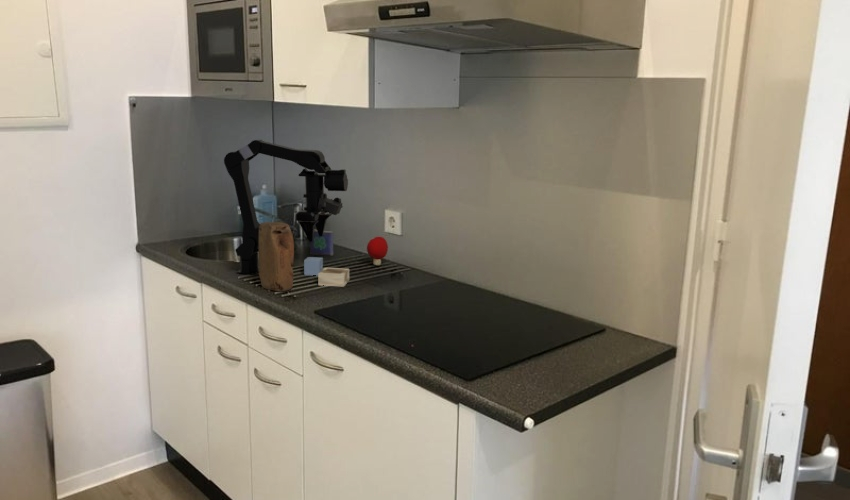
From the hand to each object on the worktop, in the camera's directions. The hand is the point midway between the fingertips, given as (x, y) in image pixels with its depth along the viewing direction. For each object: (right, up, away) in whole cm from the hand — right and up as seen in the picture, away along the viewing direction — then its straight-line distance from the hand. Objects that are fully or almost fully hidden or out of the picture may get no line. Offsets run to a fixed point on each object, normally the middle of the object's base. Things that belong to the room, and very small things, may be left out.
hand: (316, 238), depth 218 cm
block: (-10, -15, -13) cm, 22 cm away
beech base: (+7, -14, -5) cm, 16 cm away
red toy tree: (+18, -9, +18) cm, 27 cm away
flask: (-3, -6, +33) cm, 34 cm away
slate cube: (-2, -11, +5) cm, 13 cm away
